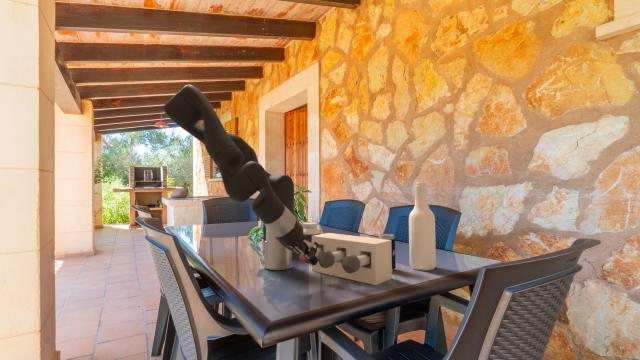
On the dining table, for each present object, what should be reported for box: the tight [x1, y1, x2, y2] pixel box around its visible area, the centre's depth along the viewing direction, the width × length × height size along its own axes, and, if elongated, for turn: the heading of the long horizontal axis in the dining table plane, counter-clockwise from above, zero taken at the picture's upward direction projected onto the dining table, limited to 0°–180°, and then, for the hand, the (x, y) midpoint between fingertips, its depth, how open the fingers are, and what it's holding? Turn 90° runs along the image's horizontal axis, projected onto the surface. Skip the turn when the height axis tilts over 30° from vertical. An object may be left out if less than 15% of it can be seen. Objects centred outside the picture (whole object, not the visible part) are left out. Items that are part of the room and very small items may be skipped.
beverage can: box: [377, 233, 397, 272], centre depth 118 cm, size 6×6×12 cm
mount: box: [311, 232, 393, 286], centre depth 113 cm, size 9×26×12 cm, turn 47°
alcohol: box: [408, 181, 437, 272], centre depth 121 cm, size 9×9×30 cm
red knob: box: [298, 247, 324, 263], centre depth 114 cm, size 9×4×4 cm, turn 137°
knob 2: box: [342, 254, 371, 274], centre depth 100 cm, size 9×5×5 cm, turn 137°
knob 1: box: [318, 250, 346, 268], centre depth 107 cm, size 9×5×5 cm, turn 137°
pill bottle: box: [302, 221, 321, 243], centre depth 136 cm, size 8×8×14 cm
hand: (315, 262), depth 101 cm, fingers closed
